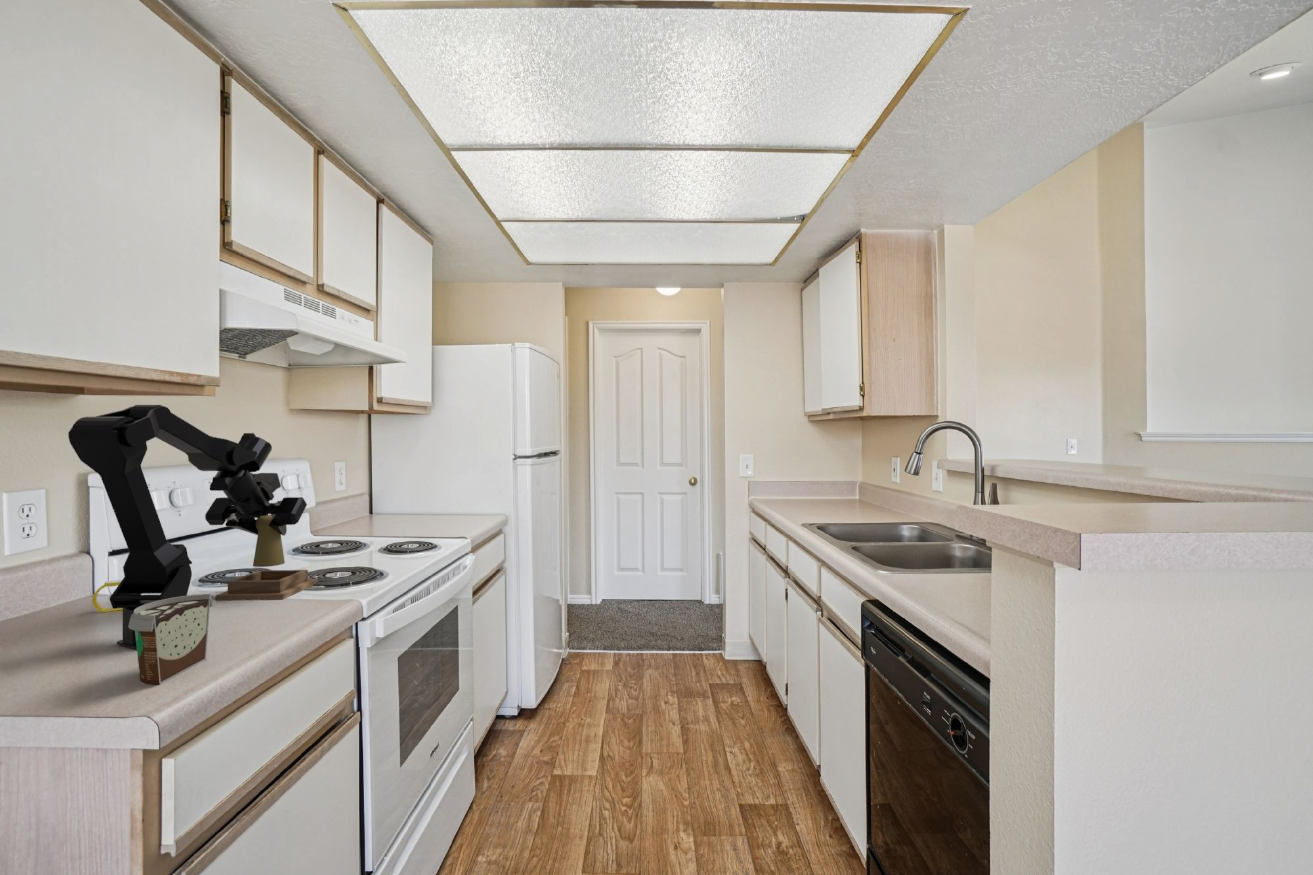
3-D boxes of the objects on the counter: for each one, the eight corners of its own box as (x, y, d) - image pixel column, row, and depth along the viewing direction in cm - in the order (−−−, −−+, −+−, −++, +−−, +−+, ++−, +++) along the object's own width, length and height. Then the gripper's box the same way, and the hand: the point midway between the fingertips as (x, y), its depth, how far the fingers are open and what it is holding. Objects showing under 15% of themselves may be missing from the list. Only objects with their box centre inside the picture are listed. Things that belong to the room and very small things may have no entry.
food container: (171, 657, 93) (171, 593, 93) (212, 656, 93) (212, 592, 93) (103, 690, 80) (103, 617, 80) (151, 689, 81) (151, 616, 81)
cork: (247, 567, 129) (247, 517, 129) (261, 561, 135) (261, 513, 135) (276, 566, 130) (277, 516, 130) (289, 561, 136) (290, 513, 136)
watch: (133, 608, 121) (136, 578, 121) (130, 611, 118) (133, 581, 119) (93, 610, 117) (96, 580, 118) (90, 614, 115) (93, 583, 115)
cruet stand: (283, 599, 126) (283, 582, 126) (215, 599, 126) (215, 583, 126) (317, 583, 140) (317, 568, 140) (257, 583, 140) (257, 569, 140)
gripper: (302, 460, 129) (328, 506, 140) (214, 460, 129) (247, 506, 139) (281, 500, 121) (309, 544, 132) (187, 500, 121) (223, 545, 131)
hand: (272, 533), depth 134 cm, fingers closed on cork, 5 cm apart
